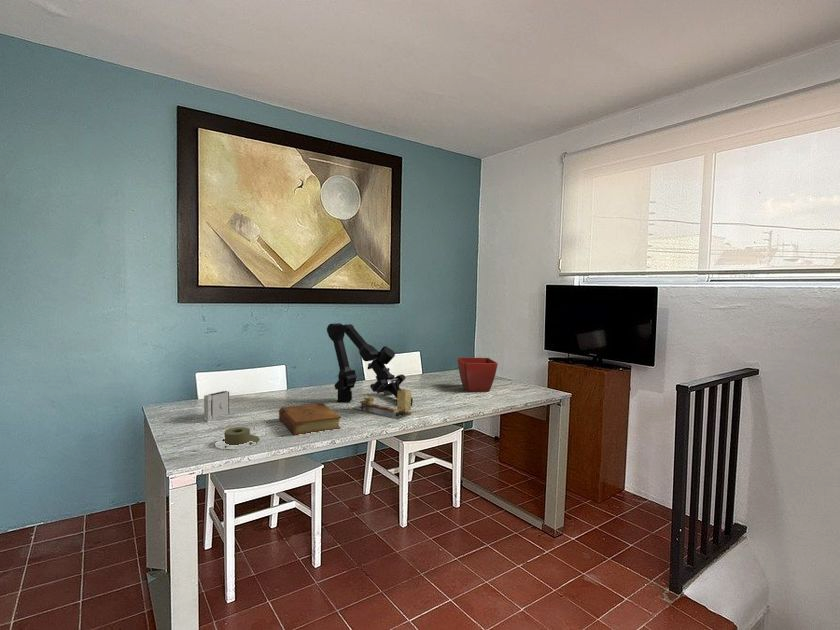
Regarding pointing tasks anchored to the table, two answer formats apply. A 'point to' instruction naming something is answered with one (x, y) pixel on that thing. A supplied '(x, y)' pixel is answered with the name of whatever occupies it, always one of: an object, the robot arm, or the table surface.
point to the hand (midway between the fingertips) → (399, 397)
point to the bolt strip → (380, 411)
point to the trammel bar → (369, 402)
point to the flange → (239, 436)
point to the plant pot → (477, 373)
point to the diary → (309, 418)
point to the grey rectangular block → (216, 404)
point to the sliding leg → (403, 401)
